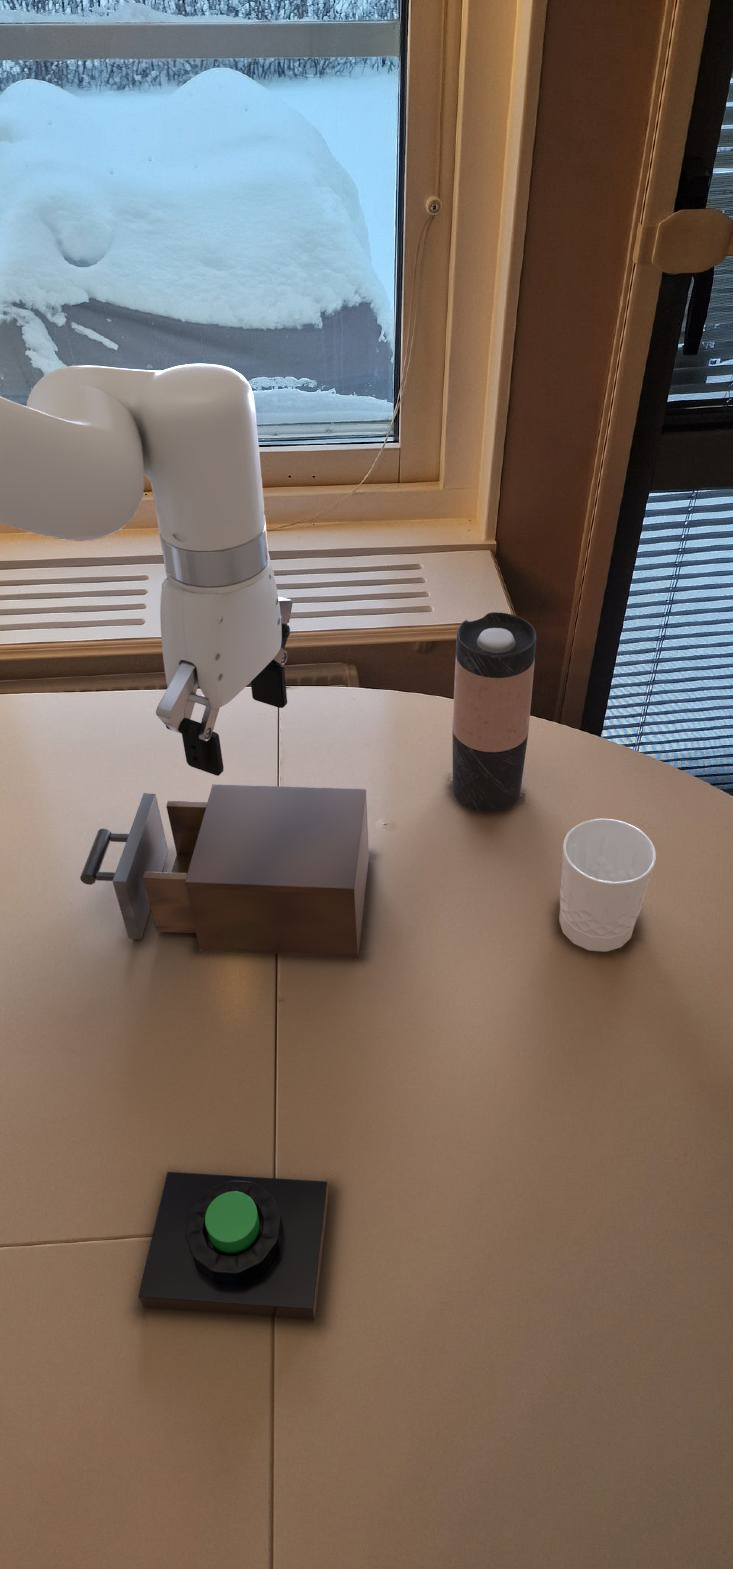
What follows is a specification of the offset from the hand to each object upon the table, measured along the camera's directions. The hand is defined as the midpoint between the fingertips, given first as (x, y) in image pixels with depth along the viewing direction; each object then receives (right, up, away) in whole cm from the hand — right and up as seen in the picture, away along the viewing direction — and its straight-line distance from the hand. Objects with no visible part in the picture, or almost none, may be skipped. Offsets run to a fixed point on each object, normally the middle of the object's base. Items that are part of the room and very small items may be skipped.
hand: (239, 734), depth 86 cm
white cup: (+32, -17, +10) cm, 38 cm away
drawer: (-6, -15, +14) cm, 21 cm away
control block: (+1, -38, -11) cm, 39 cm away
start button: (+1, -35, -13) cm, 38 cm away
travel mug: (+23, -5, +25) cm, 34 cm away
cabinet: (+3, -16, +13) cm, 21 cm away
